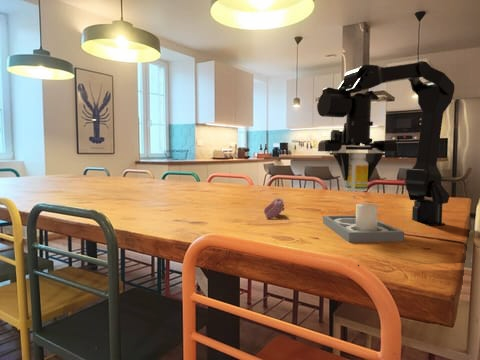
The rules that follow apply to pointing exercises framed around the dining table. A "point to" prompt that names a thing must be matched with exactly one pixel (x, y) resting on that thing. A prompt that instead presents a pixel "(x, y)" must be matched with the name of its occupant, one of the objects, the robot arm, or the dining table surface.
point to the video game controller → (274, 208)
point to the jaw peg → (366, 217)
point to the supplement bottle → (357, 173)
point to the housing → (347, 230)
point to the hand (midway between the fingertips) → (356, 180)
